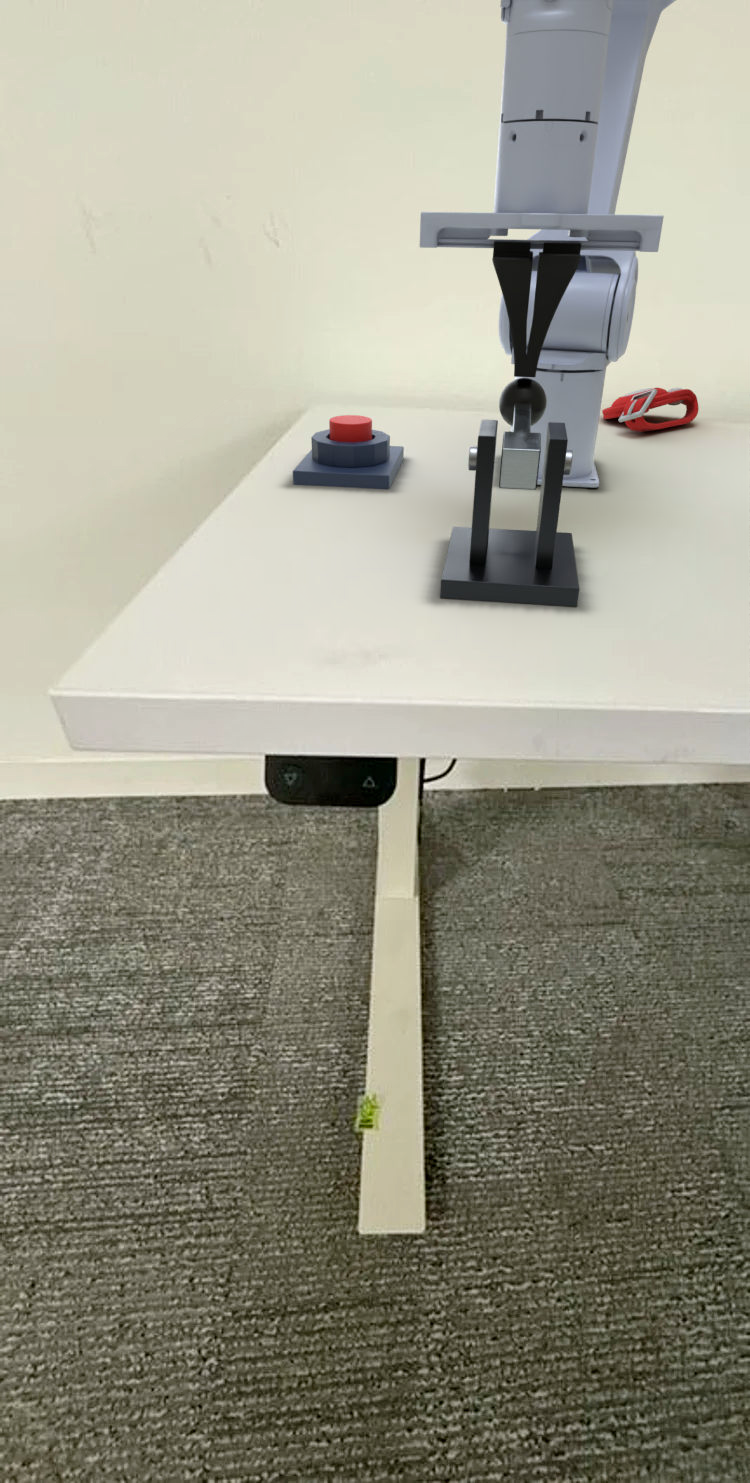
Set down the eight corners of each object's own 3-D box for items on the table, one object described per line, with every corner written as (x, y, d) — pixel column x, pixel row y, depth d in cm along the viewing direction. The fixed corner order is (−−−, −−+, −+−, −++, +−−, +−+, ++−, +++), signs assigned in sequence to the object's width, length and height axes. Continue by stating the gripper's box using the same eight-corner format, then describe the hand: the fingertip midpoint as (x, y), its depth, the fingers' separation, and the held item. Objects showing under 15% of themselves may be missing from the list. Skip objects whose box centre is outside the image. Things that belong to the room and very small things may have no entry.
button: (334, 435, 75) (333, 414, 75) (374, 437, 75) (374, 415, 74) (326, 444, 72) (325, 423, 72) (368, 446, 72) (368, 424, 71)
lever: (498, 417, 61) (501, 370, 59) (543, 419, 61) (549, 372, 59) (489, 494, 51) (493, 441, 49) (544, 497, 51) (550, 443, 49)
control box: (317, 455, 80) (316, 421, 78) (403, 459, 79) (404, 425, 77) (293, 485, 71) (291, 448, 70) (388, 490, 70) (389, 452, 69)
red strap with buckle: (587, 403, 96) (675, 379, 96) (594, 443, 98) (680, 420, 97) (622, 396, 85) (722, 369, 84) (629, 442, 86) (727, 416, 86)
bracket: (452, 543, 60) (459, 409, 55) (569, 549, 59) (587, 414, 54) (439, 598, 51) (447, 446, 47) (577, 607, 50) (598, 452, 46)
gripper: (418, 118, 48) (410, 380, 55) (687, 119, 46) (642, 389, 53) (429, 129, 54) (421, 364, 61) (668, 130, 52) (631, 371, 59)
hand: (524, 375), depth 58 cm, fingers closed
